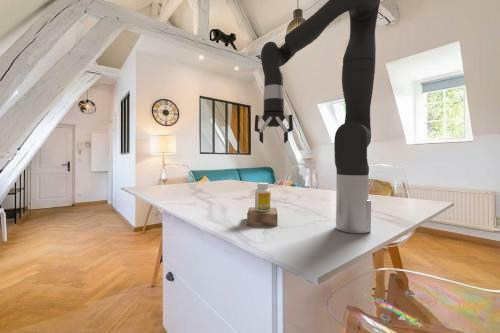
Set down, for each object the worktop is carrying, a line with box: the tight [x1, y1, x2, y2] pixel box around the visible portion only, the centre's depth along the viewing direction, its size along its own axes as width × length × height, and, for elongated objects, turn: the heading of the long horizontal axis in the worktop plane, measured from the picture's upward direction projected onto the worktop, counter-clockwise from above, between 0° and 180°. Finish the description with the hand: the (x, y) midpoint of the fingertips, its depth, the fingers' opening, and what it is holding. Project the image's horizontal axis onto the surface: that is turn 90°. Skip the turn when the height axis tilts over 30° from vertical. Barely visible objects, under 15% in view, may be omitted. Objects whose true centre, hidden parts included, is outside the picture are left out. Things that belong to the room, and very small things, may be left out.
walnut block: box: [246, 206, 279, 227], centre depth 82 cm, size 10×10×4 cm
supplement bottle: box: [254, 182, 272, 212], centre depth 82 cm, size 5×5×10 cm
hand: (273, 143), depth 88 cm, fingers open, 8 cm apart
